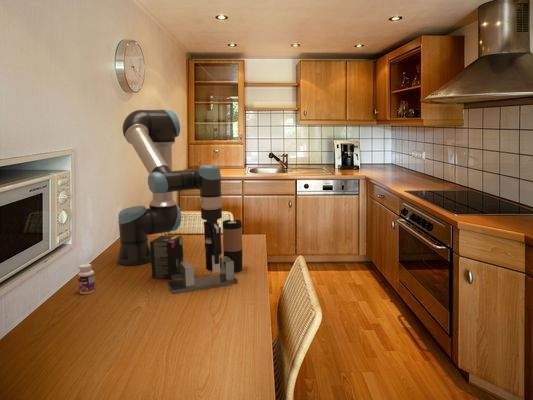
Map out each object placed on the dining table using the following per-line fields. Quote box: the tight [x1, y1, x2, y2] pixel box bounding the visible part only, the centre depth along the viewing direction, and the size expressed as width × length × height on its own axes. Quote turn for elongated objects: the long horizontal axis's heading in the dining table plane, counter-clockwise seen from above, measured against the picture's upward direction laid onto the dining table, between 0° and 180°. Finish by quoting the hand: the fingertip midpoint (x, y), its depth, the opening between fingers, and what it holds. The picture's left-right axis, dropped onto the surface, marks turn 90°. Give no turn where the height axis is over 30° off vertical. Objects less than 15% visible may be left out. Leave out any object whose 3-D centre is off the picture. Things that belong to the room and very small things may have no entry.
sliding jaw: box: [171, 260, 195, 287], centre depth 167 cm, size 8×7×7 cm
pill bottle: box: [77, 263, 96, 295], centre depth 165 cm, size 5×5×10 cm
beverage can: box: [204, 238, 222, 273], centre depth 171 cm, size 6×6×12 cm
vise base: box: [166, 255, 239, 295], centre depth 170 cm, size 10×24×8 cm, turn 114°
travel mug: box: [222, 219, 243, 274], centre depth 185 cm, size 8×8×20 cm
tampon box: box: [149, 235, 184, 280], centre depth 182 cm, size 11×9×15 cm
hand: (213, 269), depth 172 cm, fingers closed on beverage can, 6 cm apart
